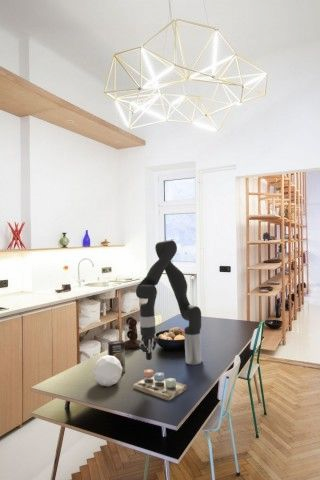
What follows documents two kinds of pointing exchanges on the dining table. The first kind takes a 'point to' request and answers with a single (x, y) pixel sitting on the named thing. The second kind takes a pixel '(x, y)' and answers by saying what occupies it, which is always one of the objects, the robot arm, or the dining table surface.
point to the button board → (159, 388)
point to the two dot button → (148, 373)
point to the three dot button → (159, 376)
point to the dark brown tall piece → (132, 334)
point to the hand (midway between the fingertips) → (149, 359)
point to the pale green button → (170, 382)
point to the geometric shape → (107, 370)
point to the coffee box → (117, 351)
